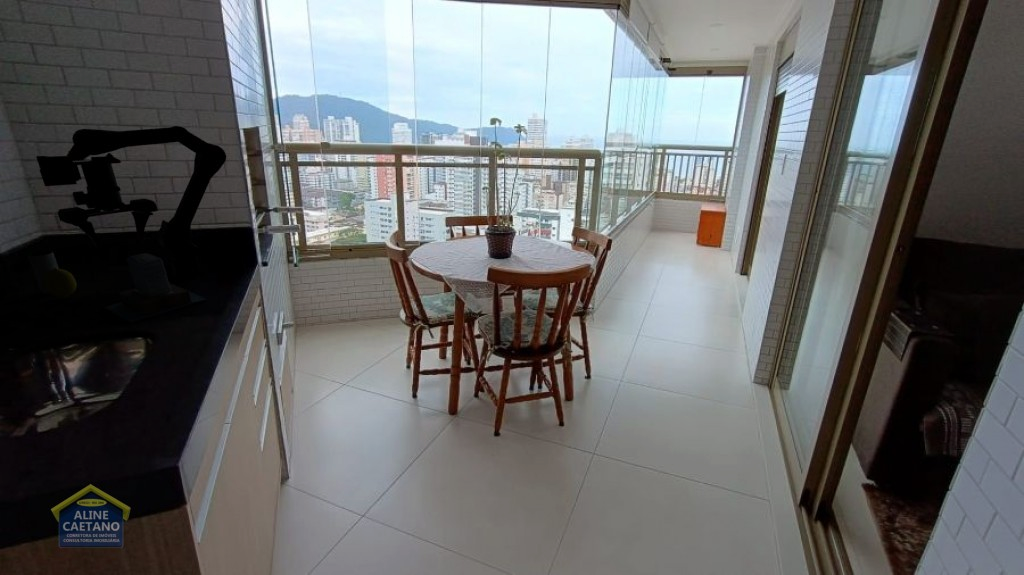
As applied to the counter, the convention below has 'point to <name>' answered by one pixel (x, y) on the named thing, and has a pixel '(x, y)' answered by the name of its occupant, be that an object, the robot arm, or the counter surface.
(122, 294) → the plinth
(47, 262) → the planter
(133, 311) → the blueprint mat
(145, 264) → the medicine box
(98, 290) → the counter surface
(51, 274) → the lemon
